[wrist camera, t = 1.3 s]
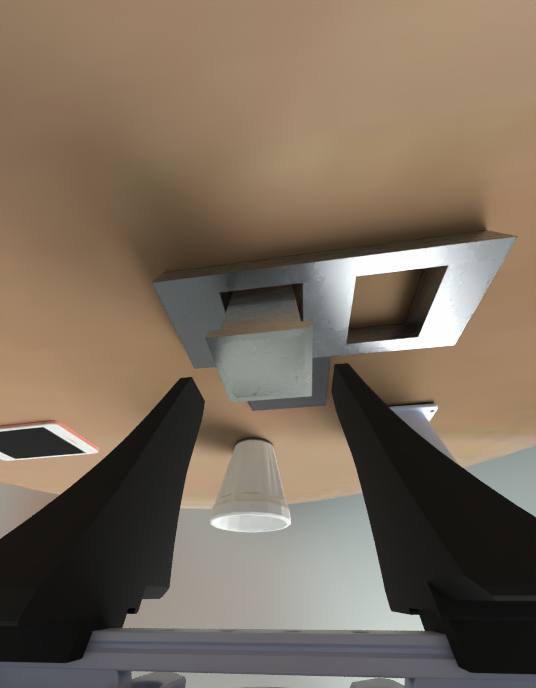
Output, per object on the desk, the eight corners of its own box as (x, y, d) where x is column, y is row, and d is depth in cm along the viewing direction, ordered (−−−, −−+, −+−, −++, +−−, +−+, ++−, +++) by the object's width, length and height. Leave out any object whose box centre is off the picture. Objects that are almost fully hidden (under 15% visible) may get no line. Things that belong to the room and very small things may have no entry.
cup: (215, 453, 33) (200, 528, 26) (235, 424, 28) (223, 509, 20) (269, 464, 36) (269, 534, 29) (297, 439, 30) (307, 519, 23)
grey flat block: (438, 331, 18) (454, 345, 16) (200, 354, 20) (194, 368, 18) (487, 230, 13) (517, 236, 11) (164, 272, 15) (152, 282, 13)
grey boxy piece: (298, 332, 18) (311, 396, 13) (241, 337, 18) (230, 402, 13) (296, 275, 15) (313, 327, 9) (227, 283, 15) (205, 338, 10)
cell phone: (-48, 429, 29) (-57, 435, 29) (59, 417, 27) (53, 424, 27) (9, 455, 35) (4, 461, 34) (103, 447, 33) (99, 453, 32)
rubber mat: (324, 402, 24) (325, 405, 24) (252, 407, 25) (252, 410, 25) (329, 345, 19) (330, 348, 19) (236, 354, 20) (236, 357, 19)
